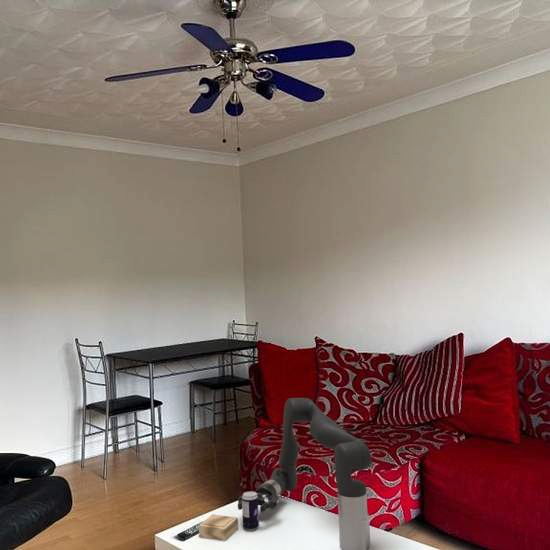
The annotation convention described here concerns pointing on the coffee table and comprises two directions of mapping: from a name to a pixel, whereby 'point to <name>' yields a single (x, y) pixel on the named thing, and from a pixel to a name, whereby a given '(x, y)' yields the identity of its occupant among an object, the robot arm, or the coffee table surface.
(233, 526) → the base block
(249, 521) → the beverage can
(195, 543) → the coffee table surface
